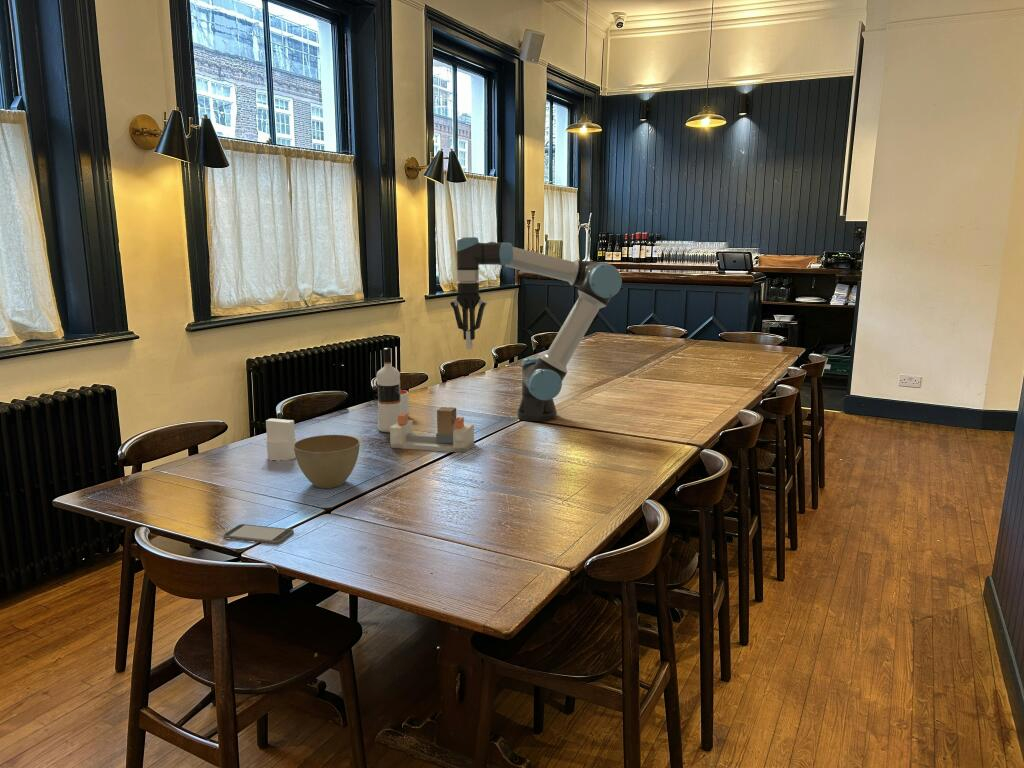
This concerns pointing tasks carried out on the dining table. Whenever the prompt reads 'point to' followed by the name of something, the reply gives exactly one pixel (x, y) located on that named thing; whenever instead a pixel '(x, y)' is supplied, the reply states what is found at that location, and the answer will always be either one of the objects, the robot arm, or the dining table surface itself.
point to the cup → (404, 401)
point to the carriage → (445, 424)
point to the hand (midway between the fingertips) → (469, 348)
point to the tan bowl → (327, 458)
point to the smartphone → (259, 534)
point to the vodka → (388, 394)
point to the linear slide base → (432, 438)
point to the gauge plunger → (402, 418)
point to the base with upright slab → (280, 439)
